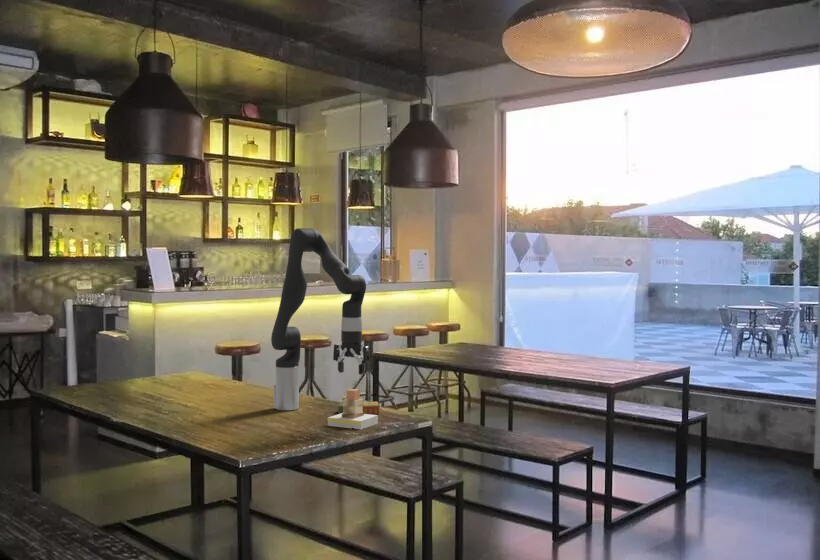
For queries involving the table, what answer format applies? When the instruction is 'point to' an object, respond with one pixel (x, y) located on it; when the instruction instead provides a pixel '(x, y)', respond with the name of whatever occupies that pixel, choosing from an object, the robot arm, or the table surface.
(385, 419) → the table surface
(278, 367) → the robot arm
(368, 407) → the carton
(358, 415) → the wooden stepped block
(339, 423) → the dock
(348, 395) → the block
